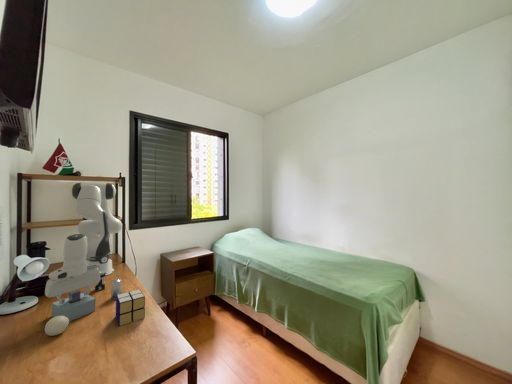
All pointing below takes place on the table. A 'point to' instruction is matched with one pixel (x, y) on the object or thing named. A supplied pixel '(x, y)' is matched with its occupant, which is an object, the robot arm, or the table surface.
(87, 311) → the socket block
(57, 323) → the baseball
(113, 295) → the round bit
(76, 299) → the square bit
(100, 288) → the push button
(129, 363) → the table surface
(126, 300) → the puzzle cube
